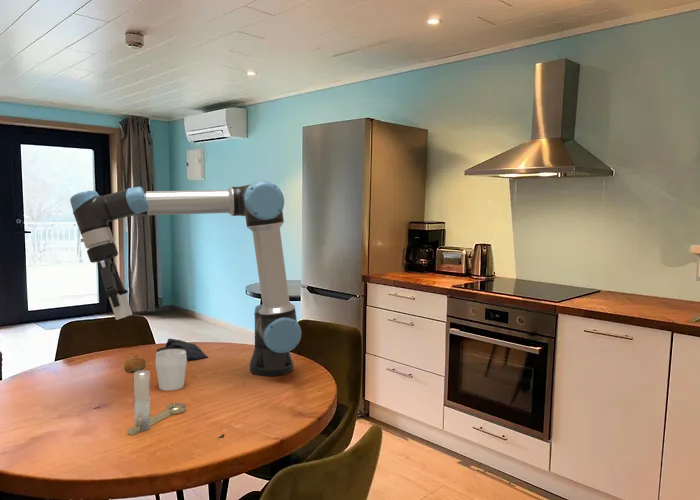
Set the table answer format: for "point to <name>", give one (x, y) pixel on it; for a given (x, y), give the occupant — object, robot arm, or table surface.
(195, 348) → the dark grey crumpled cloth
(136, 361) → the pastry
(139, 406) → the tuning peg
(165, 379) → the cup
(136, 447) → the table surface
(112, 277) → the robot arm
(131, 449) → the table surface
